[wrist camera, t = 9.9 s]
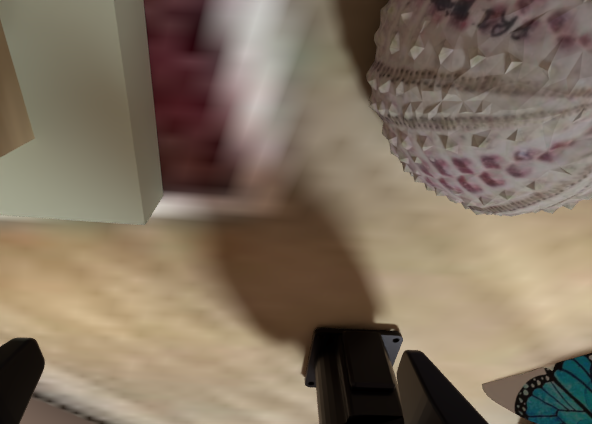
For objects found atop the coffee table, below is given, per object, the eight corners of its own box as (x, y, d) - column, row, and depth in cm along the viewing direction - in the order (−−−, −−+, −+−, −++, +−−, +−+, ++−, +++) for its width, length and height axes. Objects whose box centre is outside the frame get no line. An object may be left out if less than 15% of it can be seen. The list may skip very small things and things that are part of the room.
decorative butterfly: (685, 430, 27) (581, 505, 28) (601, 367, 33) (517, 430, 34) (665, 370, 23) (543, 460, 24) (572, 309, 29) (477, 383, 30)
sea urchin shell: (406, 216, 21) (466, 323, 14) (308, -31, 14) (330, -59, 7) (655, 114, 18) (885, 186, 11) (672, -251, 11) (1242, -620, 5)
